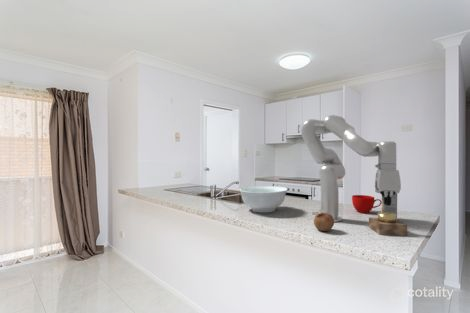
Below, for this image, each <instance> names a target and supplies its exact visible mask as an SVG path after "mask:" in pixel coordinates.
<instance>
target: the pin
mask: <svg viewBox="0 0 470 313" xmlns="http://www.w3.org/2000/svg"><path fill="white" fill-rule="evenodd" d="M377 218H378V221H380V222H385V223H396V214H394V213H389V212H382V211H380V212H377Z"/></svg>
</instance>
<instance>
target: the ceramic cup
mask: <svg viewBox="0 0 470 313" xmlns="http://www.w3.org/2000/svg"><path fill="white" fill-rule="evenodd" d="M377 201H379V202H380V203H378V204H377V205H375V202H377ZM351 202H352V206H353V207H354V209H355V211H357V213H360V214H369V213H370V212H371V211H372V210H373V209H375V208H378V207H380V206H382V199H379V198H376V199H375V197H374V196H371V195H363V194H353V195H352V196H351Z"/></svg>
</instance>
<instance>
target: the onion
mask: <svg viewBox="0 0 470 313" xmlns="http://www.w3.org/2000/svg"><path fill="white" fill-rule="evenodd" d="M313 218H314V219H313V225H314V226H315V229H317V230H318V231H320V232H327V231H330V230H331V229H332V228H333V227H334V225H335V222H334V219H333V217H332V215H330V214H329V213H319V214H318V215H316V216H315V215H314V217H313Z"/></svg>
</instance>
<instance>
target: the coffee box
mask: <svg viewBox="0 0 470 313" xmlns="http://www.w3.org/2000/svg"><path fill="white" fill-rule="evenodd" d="M387 193H388V191H387ZM381 202H382V203H381V212H389V213H394V214H396V219H397V220H398V193H396V194H394V195H393V197H391V205H390V206H389V205H388V206H387V205H384V203H383V196H382V195H381Z"/></svg>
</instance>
